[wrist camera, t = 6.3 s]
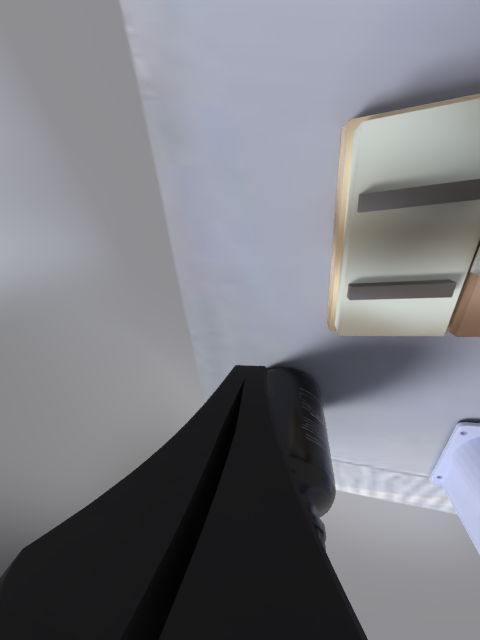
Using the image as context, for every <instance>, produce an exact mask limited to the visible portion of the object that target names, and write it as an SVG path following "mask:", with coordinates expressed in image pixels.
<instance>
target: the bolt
mask: <svg viewBox="0 0 480 640" xmlns="http://www.w3.org/2000/svg"><path fill="white" fill-rule="evenodd" d="M470 273H473V274H476V275H478V276H480V247H479V249H478V252H477V255H476V257H475V260H474V263H473V265H472V268H471V271H470Z"/></svg>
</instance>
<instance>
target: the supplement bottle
mask: <svg viewBox="0 0 480 640" xmlns="http://www.w3.org/2000/svg"><path fill="white" fill-rule="evenodd" d="M268 383H269V397H270V404H271V409H272V413H273V417H274V420H275V424H276V427H277V431H278V434H279V437H280V440H281V443H282V446H283V449H284V452H285V455H286V458H287V461H288V463H289V466H290V469H291V471H292V474H293V477H294V479H295V482H296V484H297V487H298V489H299V492H300V494H301V496H302V499H303V501H304V503H305V506H306V508H307V510H308V513H309V515H310V518H311V520H312V522H313V525H314V527H315V529H316V532H317V534H318V536H319V538H320V540H321V542H322V545H323V547H324V549H325V540H326V532H325V526H324V524H323V523H322V521H321V520H320V519H319V518H320V517H322V516H323V515H324V514H326V513H327V512H328V511H329V509H330V508H331V506H332V504H333V502H334V499H335V493H336V489H335V480H334V473H333V467H332V461H331V454H330V448H329V442H328V436H327V429H326V423H325V417H324V410H323V404H322V399H321V394H320V390H319V388H318V386H317V384H316V383H315V382H314V381H313V380H312V379H311V378H310V377H309V376H307V375H306V374H304V373H302V372H300V371H298V370H295V369H290V368H274V369H270V370H268ZM325 551H326V550H325Z"/></svg>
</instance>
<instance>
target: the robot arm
mask: <svg viewBox="0 0 480 640" xmlns="http://www.w3.org/2000/svg"><path fill="white" fill-rule="evenodd" d="M429 480H430V482H431V483H432V484H434V485H440V486H442V487H443V489H444V490H445V492H446V494H447V496H448V498H449V500H450V501H451V503H452V505H453V507H454V509H455V511H456V512H457V514H458V516H459V518H460V520H461V521H462V523H463V525H464V527H465V529H466V530H467V532H468V534H469V536H470V538H471V540H472V541H473V543H474V545H475V547H476V549H477V551H478V553H479V554H480V423H469V422H461V423H458V424H457V425H456V427H455V429H454V431H453V433H452V435H451V437H450V439H449V441H448V443H447V445H446V447H445V449H444V450H443V452H442V454H441V456H440V458H439V460H438V462H437V464H436V466H435V468H434V470H433V472H432V474H431V476H430V478H429ZM0 640H368V639H367V637H366V635H365V633H364V631H363V629H362V627H361V625H360V623H359V621H358V619H357V616H356V614H355V612H354V610H353V608H352V606H351V604H350V602H349V600H348V598H347V596H346V594H345V592H344V590H343V588H342V585H341V583H340V581H339V579H338V577H337V575H336V573H335V571H334V569H333V567H332V565H331V562H330V560H329V558H328V556H327V553H326V551H325V549H324V547H323V545H322V542H321V540H320V538H319V536H318V534H317V532H316V529H315V527H314V525H313V522H312V520H311V518H310V515H309V513H308V510H307V508H306V506H305V503H304V501H303V499H302V496H301V494H300V492H299V489H298V487H297V484H296V482H295V479H294V477H293V474H292V471H291V469H290V466H289V463H288V461H287V458H286V455H285V452H284V449H283V446H282V443H281V440H280V437H279V434H278V431H277V427H276V424H275V420H274V417H273V413H272V409H271V404H270V397H269V383H268V369H267V368H266V367H265V366H243V365H236V366H235V367H234V368H233V369H232V370H231V372H230V373H229V374H228V376H227V377H226V378H225V380H224V381H223V382H222V383H221V385H220V386H219V387H218V389H217V390H216V391H215V392H214V393H213V394H212V396H211V397H210V398H209V399H208V400H207V402H206V403H205V404H204V405H203V406H202V407H201V408H200V409H199V411H198V412H197V413H196V414H195V415H194V416H193V417H192V418H191V419H190V420H189V421H188V422H187V423H186V424H185V425H184V426H183V427H182V428H181V429H180V430H179V431H178V432H177V433H176V434H175V435H174V436H173V437H172V438H171V439H170V440H169V441H168V442H167V443H166V444H165V445H163V446H162V448H160V449H159V450H158V451H157V452H155V453H154V454H153V455H152V456H151V457H150V458H149V459H147V460H146V461H145V462H144V463H143V464H141V465H140V466H139V467H138V468H136V469H135V470H134V471H133V472H132V473H130V474H129V475H128V476H126V477H125V478H124V479H122V480H121V481H120V482H118V483H117V484H116V485H115V486H113V487H112V488H110V489H109V490H108V491H107V492H105V493H104V494H103V495H101V496H100V497H99V498H97V499H96V500H94V501H93V502H92V503H90V504H89V505H88V506H86V507H85V508H83V509H82V510H80V511H79V512H78V513H76V514H74V515H73V516H71V517H70V518H68V519H67V520H66V521H64V522H63V523H61V524H60V525H58V526H57V527H55V528H54V529H52V530H51V531H49V532H48V533H46V534H45V535H43V536H42V537H40V538H39V539H37V540H36V541H34V542H33V543H31V544H30V545H28V546H26V547H25V548H24V549H22V551H21V552H20V553H19V554H18V556H17V557H16V558H15V559H14V561H13V562H12V563H11V565H10V566H9V567H8V568H7V570H6V571H5V573H4V574H3V575H2V576H1V578H0Z"/></svg>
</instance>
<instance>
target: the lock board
mask: <svg viewBox="0 0 480 640" xmlns="http://www.w3.org/2000/svg"><path fill="white" fill-rule="evenodd" d="M479 247H480V93H478V94H474V95H469V96H464V97H459V98H454V99H449V100H444V101H439V102H434V103H429V104H424V105H419V106H414V107H409V108H404V109H399V110H394V111H389V112H384V113H380V114H375V115H370V116H365V117H360V118H355V119H350V120H348V121H347V122H346V124H345V125H344V127H343V128H342V133H341V146H340V159H339V171H338V184H337V197H336V210H335V223H334V235H333V248H332V261H331V274H330V286H329V299H328V312H327V324H328V327H329V330H330V331H337V332H338V334H339V336H444V335H445V332H446V331H449V332H451V333H452V334H453V335H455V336H459V337H480V276H478V275H476V274H473V273H470V271H471V268H472V265H473V263H474V260H475V257H476V255H477V252H478V249H479Z"/></svg>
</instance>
